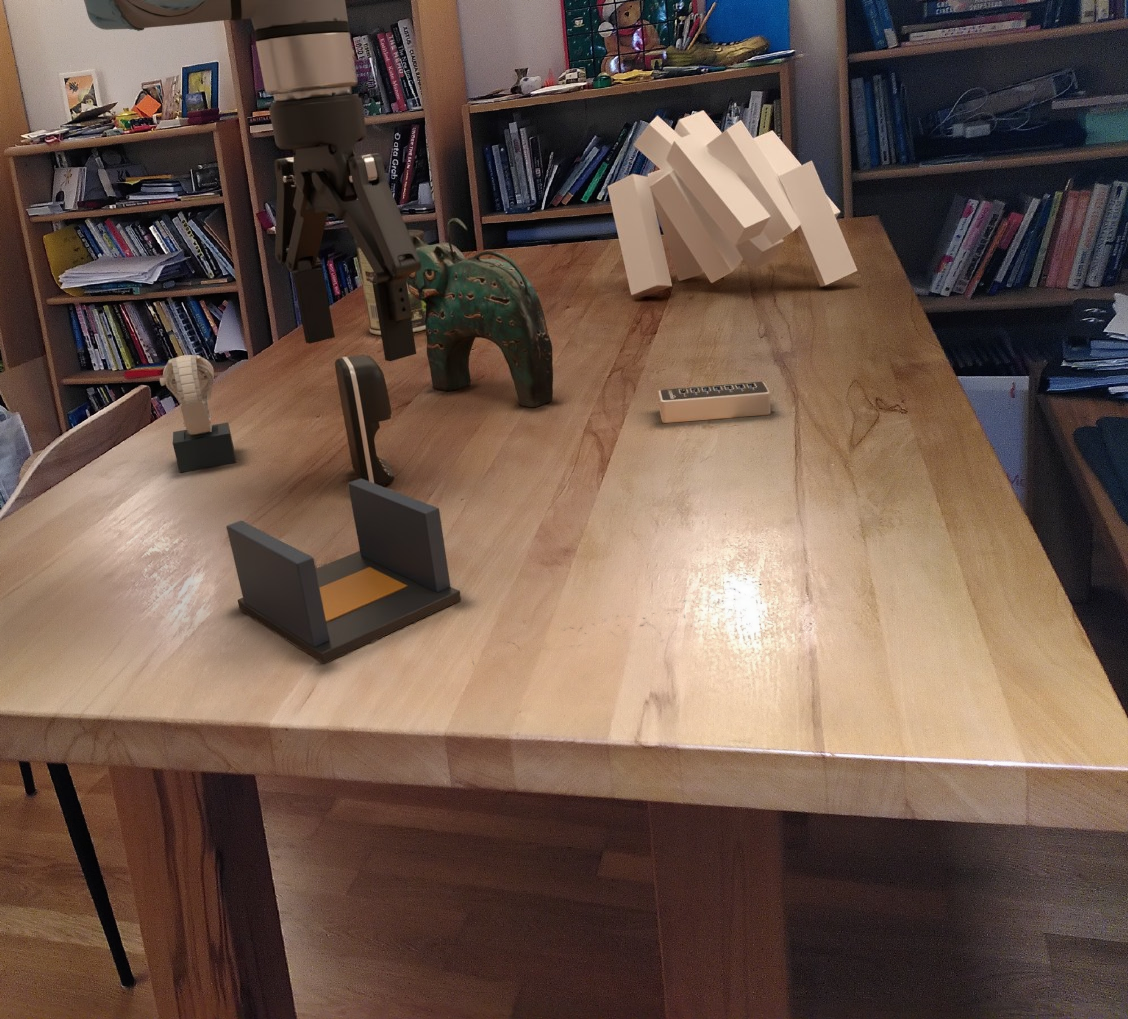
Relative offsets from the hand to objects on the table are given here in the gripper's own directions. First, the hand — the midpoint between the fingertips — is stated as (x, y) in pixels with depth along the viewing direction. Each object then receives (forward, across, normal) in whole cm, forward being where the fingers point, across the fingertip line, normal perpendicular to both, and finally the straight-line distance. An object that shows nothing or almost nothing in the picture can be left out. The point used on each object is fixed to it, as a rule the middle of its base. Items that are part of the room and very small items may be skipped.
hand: (358, 348), depth 94 cm
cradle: (+12, -21, +16) cm, 29 cm away
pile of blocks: (+13, +27, -84) cm, 89 cm away
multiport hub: (+13, -14, -32) cm, 37 cm away
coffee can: (+13, +55, -40) cm, 69 cm away
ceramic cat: (+13, +13, -24) cm, 30 cm away
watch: (+12, +20, +8) cm, 25 cm away
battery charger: (+12, 0, 0) cm, 13 cm away
